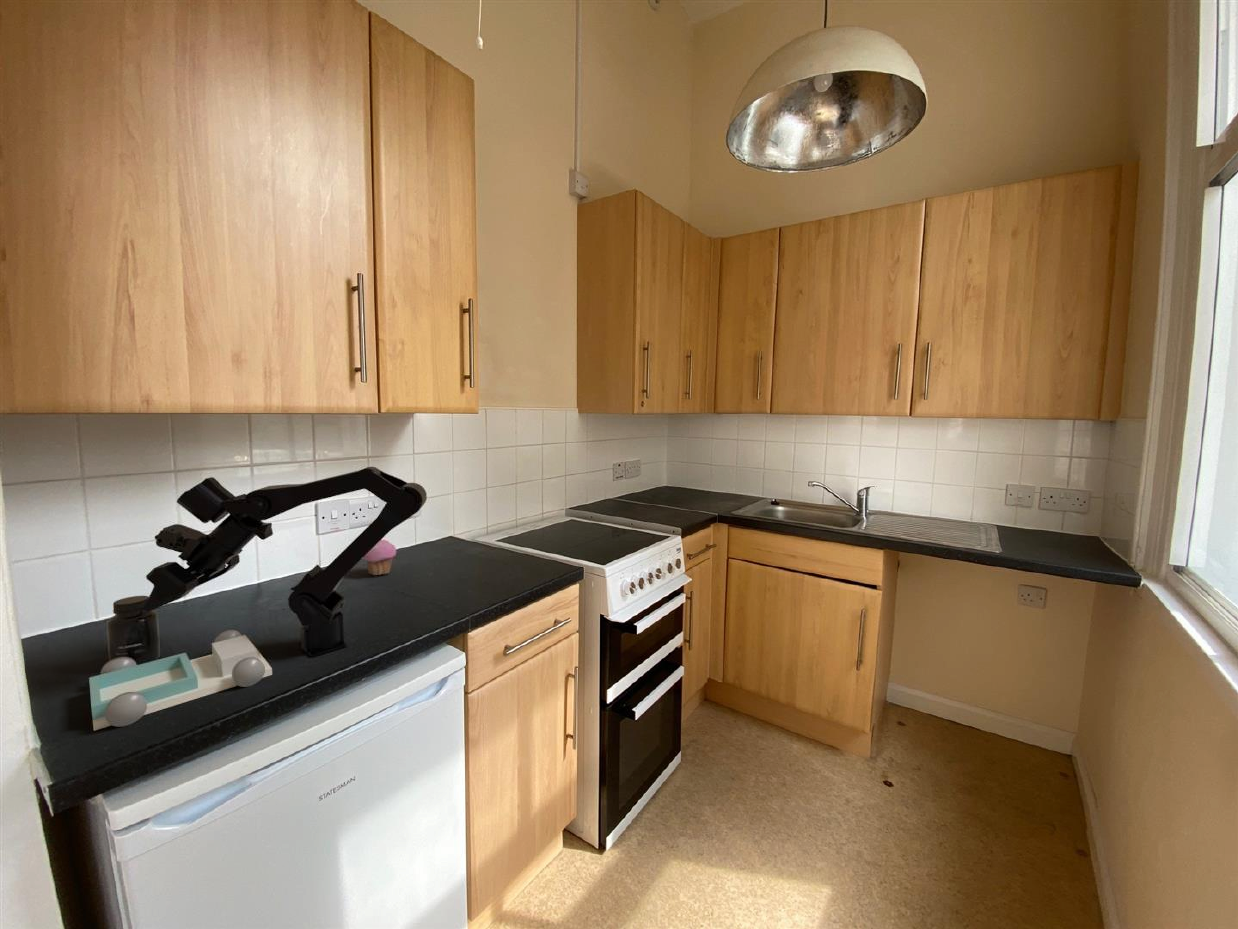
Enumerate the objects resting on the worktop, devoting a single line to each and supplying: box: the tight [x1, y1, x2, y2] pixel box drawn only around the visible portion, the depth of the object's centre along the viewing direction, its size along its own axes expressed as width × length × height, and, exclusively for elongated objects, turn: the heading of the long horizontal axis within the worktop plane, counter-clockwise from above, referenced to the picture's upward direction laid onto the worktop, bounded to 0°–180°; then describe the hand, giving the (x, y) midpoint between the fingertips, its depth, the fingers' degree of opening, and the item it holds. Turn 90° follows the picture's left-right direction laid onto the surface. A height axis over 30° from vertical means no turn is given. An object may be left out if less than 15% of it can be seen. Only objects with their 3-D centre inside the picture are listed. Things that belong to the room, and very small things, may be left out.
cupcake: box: [362, 539, 397, 576], centre depth 145 cm, size 9×9×10 cm
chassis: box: [88, 629, 273, 731], centre depth 86 cm, size 22×17×4 cm
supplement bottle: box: [106, 595, 161, 665], centre depth 93 cm, size 7×7×12 cm
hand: (163, 600), depth 93 cm, fingers open, 9 cm apart
